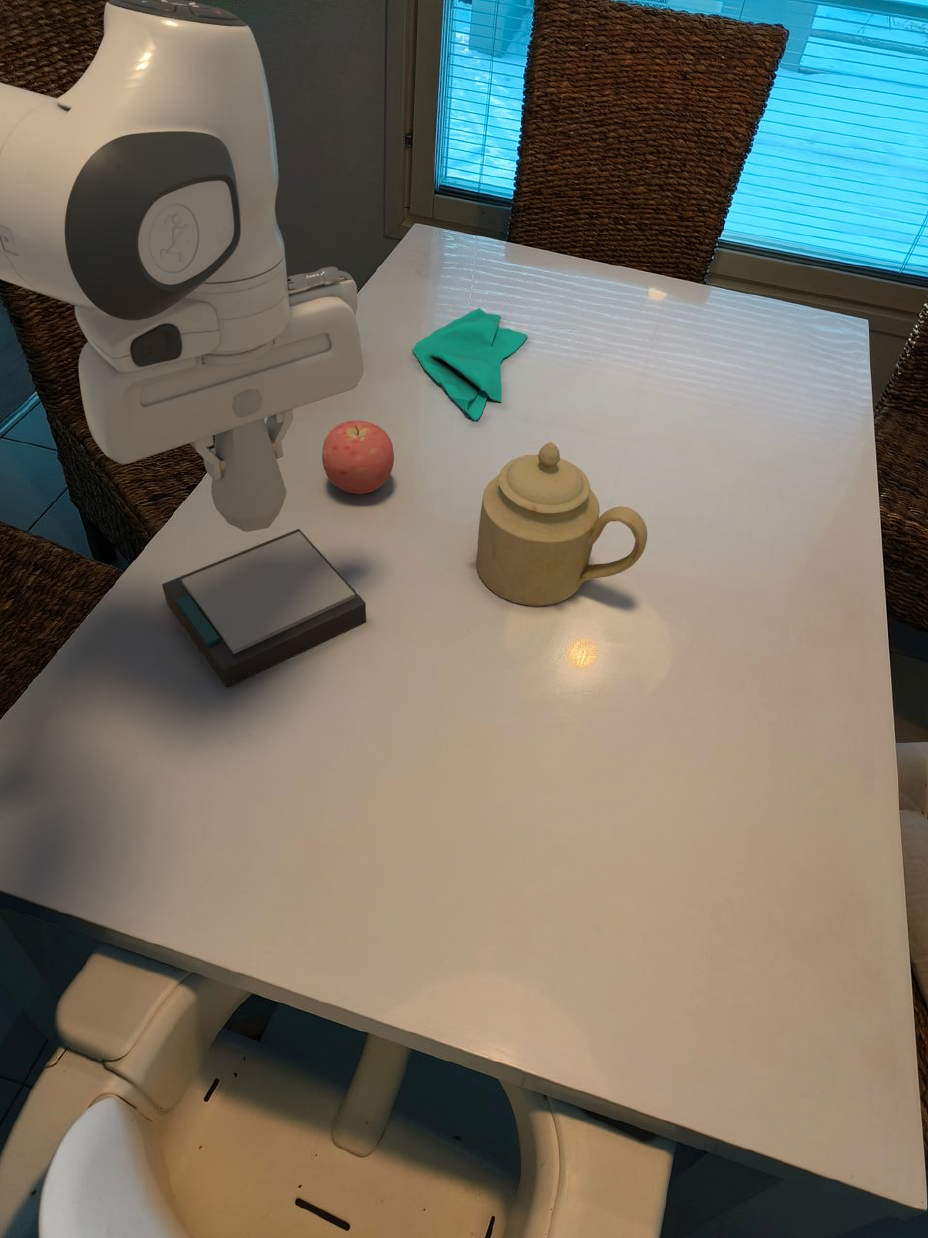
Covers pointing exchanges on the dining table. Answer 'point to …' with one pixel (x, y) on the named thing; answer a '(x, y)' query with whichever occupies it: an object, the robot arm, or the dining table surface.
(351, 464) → the apple
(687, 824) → the dining table surface
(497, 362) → the cloth
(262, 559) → the scale
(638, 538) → the sugar bowl
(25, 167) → the robot arm
